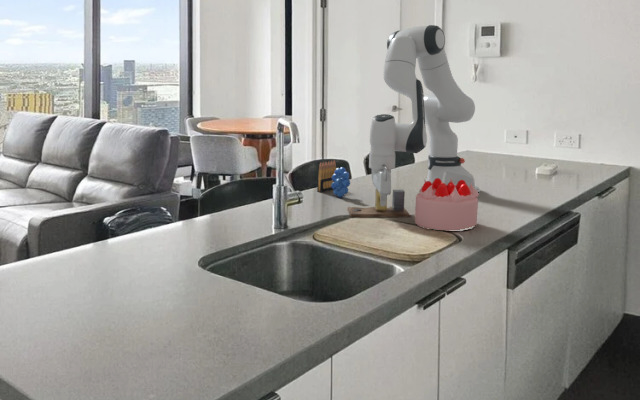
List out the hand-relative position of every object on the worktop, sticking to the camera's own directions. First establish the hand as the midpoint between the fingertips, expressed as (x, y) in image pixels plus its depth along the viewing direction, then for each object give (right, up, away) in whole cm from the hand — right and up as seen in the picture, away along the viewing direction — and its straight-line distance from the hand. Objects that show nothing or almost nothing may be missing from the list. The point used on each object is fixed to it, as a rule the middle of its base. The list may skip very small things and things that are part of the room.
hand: (380, 202), depth 224 cm
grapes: (-12, +2, +27) cm, 29 cm away
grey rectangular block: (+6, -4, +1) cm, 7 cm away
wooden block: (0, -2, +1) cm, 2 cm away
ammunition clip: (-18, +5, +40) cm, 44 cm away
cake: (+20, -7, -14) cm, 25 cm away
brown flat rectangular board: (-1, -4, +1) cm, 4 cm away
